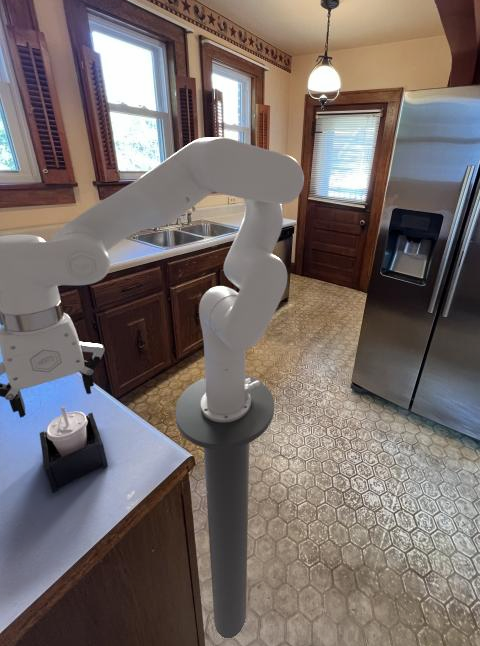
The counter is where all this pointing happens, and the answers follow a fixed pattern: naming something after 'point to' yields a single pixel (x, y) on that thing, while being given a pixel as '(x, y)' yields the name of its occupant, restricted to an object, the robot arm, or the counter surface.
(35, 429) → the counter surface
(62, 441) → the smoothie
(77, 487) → the counter surface
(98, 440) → the bottle stand
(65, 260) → the robot arm
